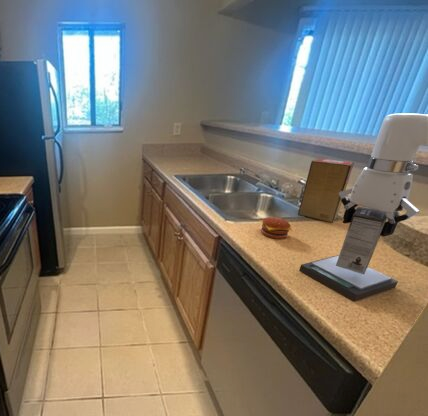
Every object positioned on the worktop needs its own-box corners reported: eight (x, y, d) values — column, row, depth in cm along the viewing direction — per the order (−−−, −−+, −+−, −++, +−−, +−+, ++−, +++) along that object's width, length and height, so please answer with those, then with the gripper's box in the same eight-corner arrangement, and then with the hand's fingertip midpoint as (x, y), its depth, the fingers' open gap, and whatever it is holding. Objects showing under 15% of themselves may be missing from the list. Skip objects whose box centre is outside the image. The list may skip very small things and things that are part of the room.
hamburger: (293, 239, 103) (297, 223, 101) (266, 239, 104) (270, 223, 102) (280, 228, 112) (283, 214, 110) (255, 228, 113) (258, 213, 110)
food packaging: (337, 217, 122) (355, 161, 113) (333, 223, 116) (351, 165, 108) (302, 209, 132) (316, 157, 123) (296, 214, 126) (310, 160, 117)
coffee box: (341, 254, 84) (357, 205, 78) (369, 262, 80) (389, 211, 74) (334, 266, 78) (352, 214, 72) (364, 275, 74) (386, 221, 68)
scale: (395, 287, 76) (399, 279, 75) (354, 301, 71) (357, 292, 70) (337, 260, 89) (339, 253, 88) (299, 270, 84) (301, 262, 83)
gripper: (446, 172, 62) (416, 240, 68) (358, 158, 77) (339, 215, 84) (427, 175, 60) (397, 245, 66) (340, 160, 75) (322, 218, 81)
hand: (365, 228), depth 75 cm, fingers closed on coffee box, 8 cm apart
